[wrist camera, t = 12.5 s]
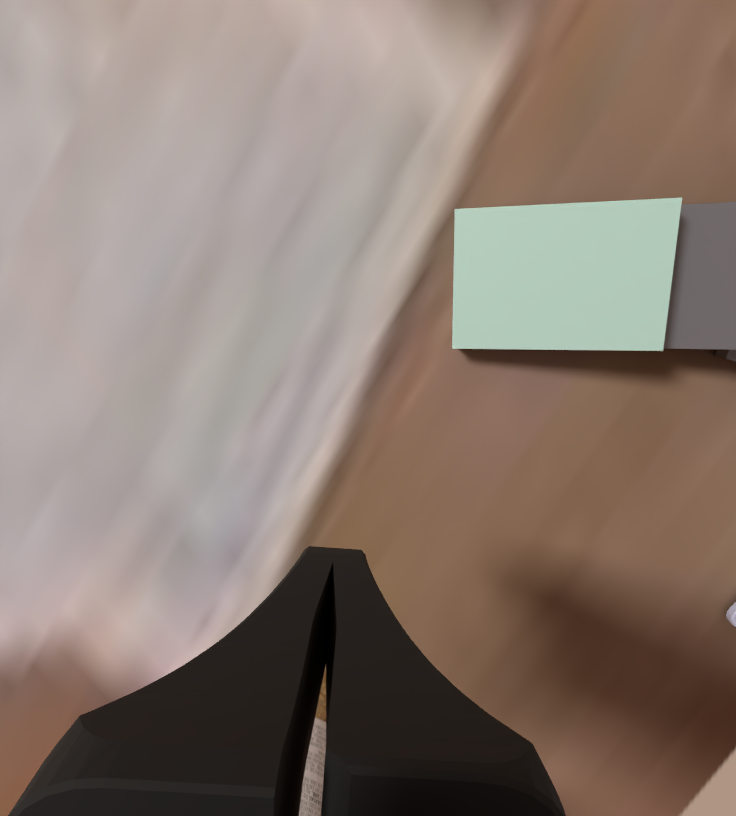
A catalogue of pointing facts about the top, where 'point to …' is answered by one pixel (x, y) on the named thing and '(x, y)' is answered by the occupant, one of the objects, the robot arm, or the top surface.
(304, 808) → the sprinkles bottle
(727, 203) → the domino
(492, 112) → the top surface
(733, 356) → the domino
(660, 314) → the green domino
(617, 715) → the top surface
